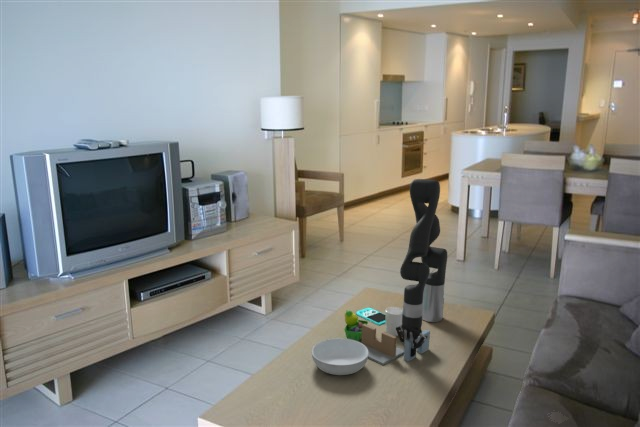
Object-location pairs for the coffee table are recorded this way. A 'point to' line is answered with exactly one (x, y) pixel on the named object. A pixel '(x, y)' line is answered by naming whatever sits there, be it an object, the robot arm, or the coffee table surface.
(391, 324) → the white cup
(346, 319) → the fruit basket
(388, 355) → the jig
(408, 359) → the slotted plate
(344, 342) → the serving bowl
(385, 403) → the coffee table surface
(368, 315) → the handheld game console
